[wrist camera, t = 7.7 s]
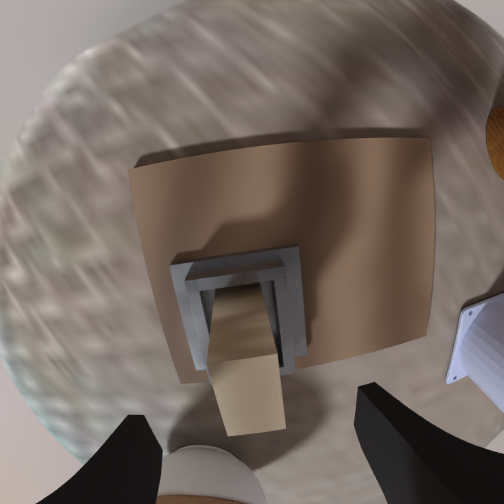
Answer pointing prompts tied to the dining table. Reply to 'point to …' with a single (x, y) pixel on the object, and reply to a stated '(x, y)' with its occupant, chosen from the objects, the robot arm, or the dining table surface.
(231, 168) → the walnut board
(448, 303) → the dining table surface
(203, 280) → the grey square socket
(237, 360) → the tan wooden block
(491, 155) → the disposable coffee cup
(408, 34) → the dining table surface
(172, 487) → the lidded jar
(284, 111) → the dining table surface
